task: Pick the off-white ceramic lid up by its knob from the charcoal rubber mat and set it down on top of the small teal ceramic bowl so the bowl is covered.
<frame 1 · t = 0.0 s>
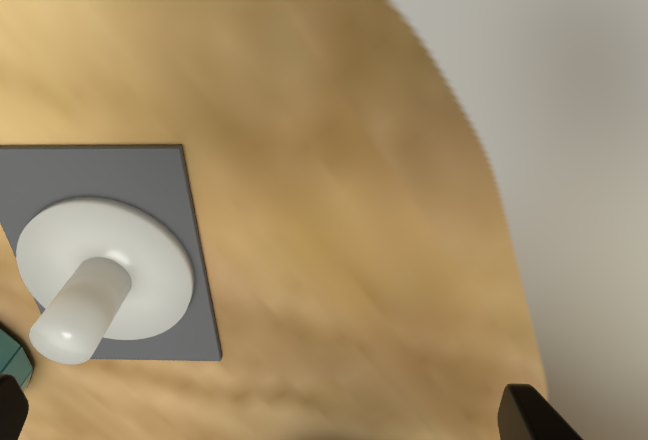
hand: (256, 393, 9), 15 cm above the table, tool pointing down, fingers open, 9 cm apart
lid: (111, 269, 26), resting on mat
mat: (114, 265, 26), on the table
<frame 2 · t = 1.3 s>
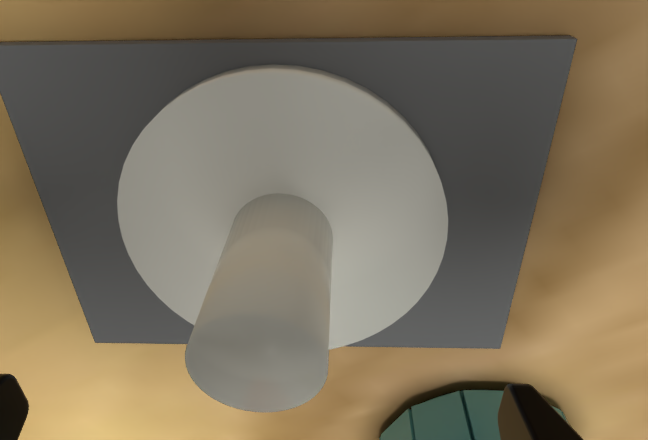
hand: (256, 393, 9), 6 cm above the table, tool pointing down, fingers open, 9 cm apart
lid: (285, 222, 14), resting on mat
mat: (286, 215, 14), on the table
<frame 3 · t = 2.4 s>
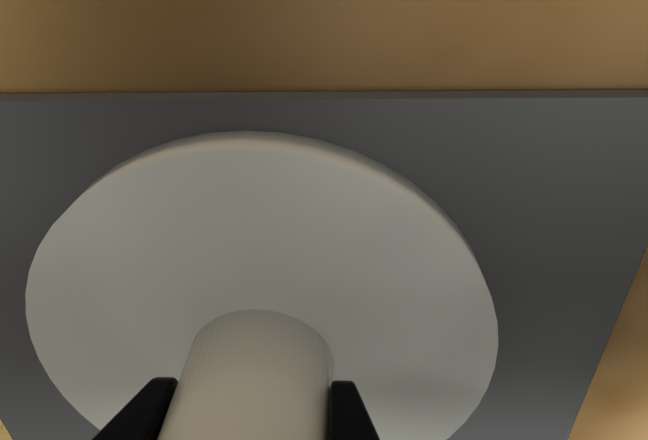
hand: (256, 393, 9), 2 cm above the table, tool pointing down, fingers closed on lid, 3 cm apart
lid: (267, 333, 10), resting on mat, touching gripper
mat: (270, 319, 10), on the table
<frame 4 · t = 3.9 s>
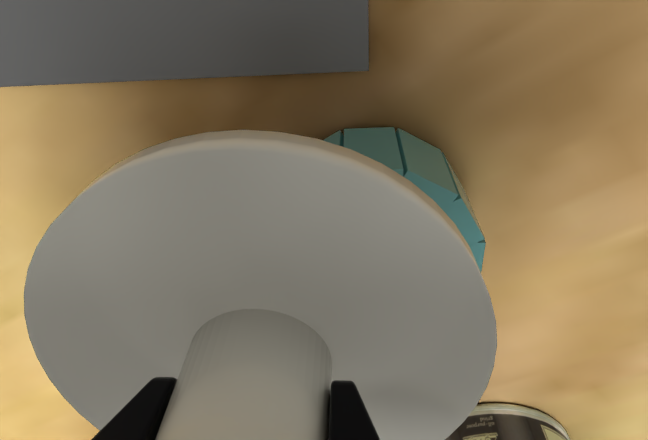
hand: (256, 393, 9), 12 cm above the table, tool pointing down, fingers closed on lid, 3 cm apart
bowl: (369, 209, 21), on the table
lid: (266, 332, 10), point 11 cm above the table, touching gripper
when the fingers open (7 cm above the table, at t = 5.2 s): lid drops 1 cm, resting on bowl.
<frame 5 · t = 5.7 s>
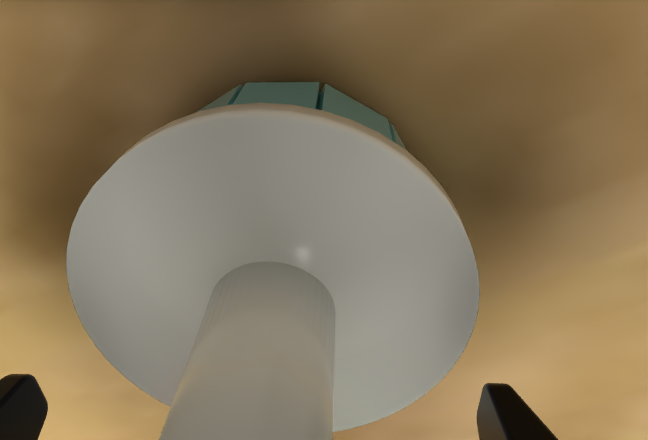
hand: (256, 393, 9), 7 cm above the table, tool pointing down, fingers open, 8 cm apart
bowl: (292, 203, 15), on the table
lid: (277, 288, 11), point 4 cm above the table, touching bowl
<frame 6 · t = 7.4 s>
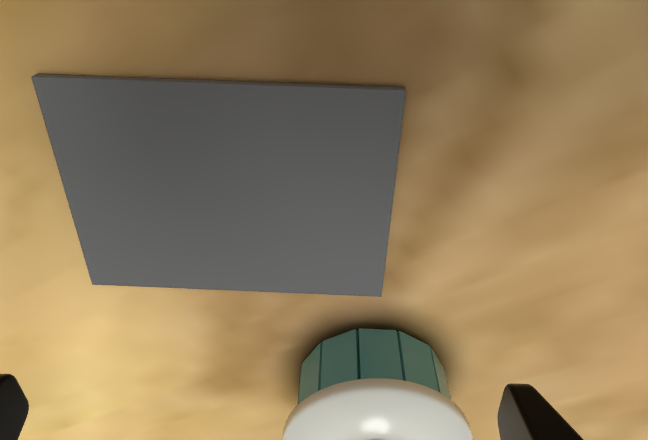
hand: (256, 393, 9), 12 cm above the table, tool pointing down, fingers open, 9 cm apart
bowl: (371, 374, 27), on the table
mat: (230, 195, 21), on the table
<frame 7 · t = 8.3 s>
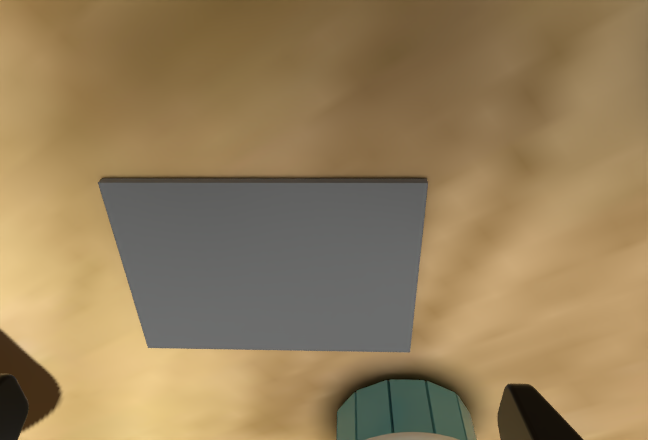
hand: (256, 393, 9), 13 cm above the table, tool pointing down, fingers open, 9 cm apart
bowl: (401, 417, 29), on the table
mat: (271, 270, 23), on the table
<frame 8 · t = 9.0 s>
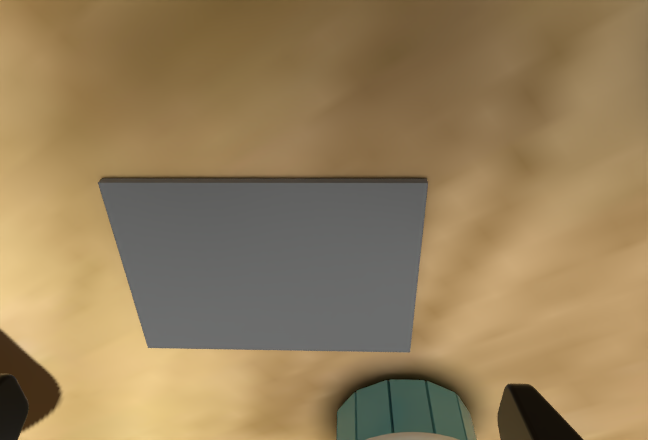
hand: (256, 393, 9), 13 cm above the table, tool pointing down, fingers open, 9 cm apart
bowl: (401, 417, 29), on the table
mat: (271, 270, 23), on the table
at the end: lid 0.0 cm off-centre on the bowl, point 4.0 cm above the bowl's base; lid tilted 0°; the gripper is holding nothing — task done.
